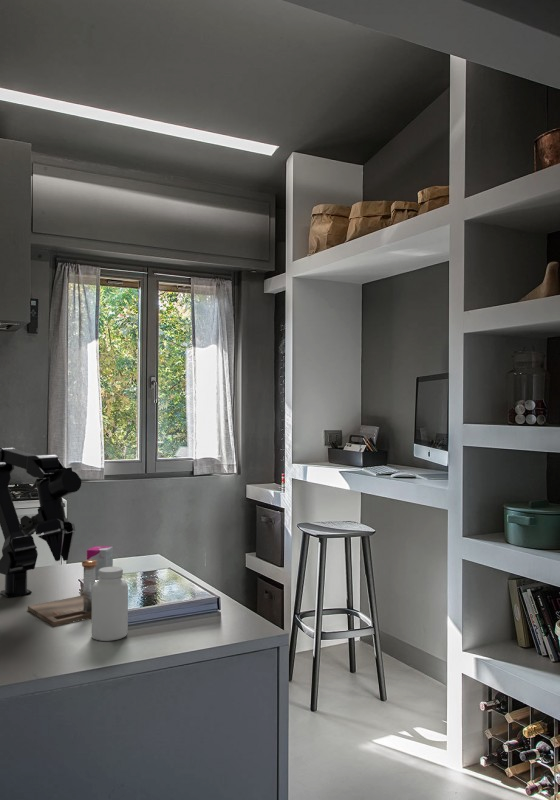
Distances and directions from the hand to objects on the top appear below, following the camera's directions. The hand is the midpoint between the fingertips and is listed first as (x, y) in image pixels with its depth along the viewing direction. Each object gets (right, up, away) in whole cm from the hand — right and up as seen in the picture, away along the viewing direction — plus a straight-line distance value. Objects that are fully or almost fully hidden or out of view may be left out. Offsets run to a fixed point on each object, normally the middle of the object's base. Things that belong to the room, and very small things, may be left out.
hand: (61, 560), depth 170 cm
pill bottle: (+18, -12, -22) cm, 30 cm away
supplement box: (+5, -12, +18) cm, 22 cm away
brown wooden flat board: (+4, -12, -4) cm, 13 cm away
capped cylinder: (+9, -12, -7) cm, 16 cm away
